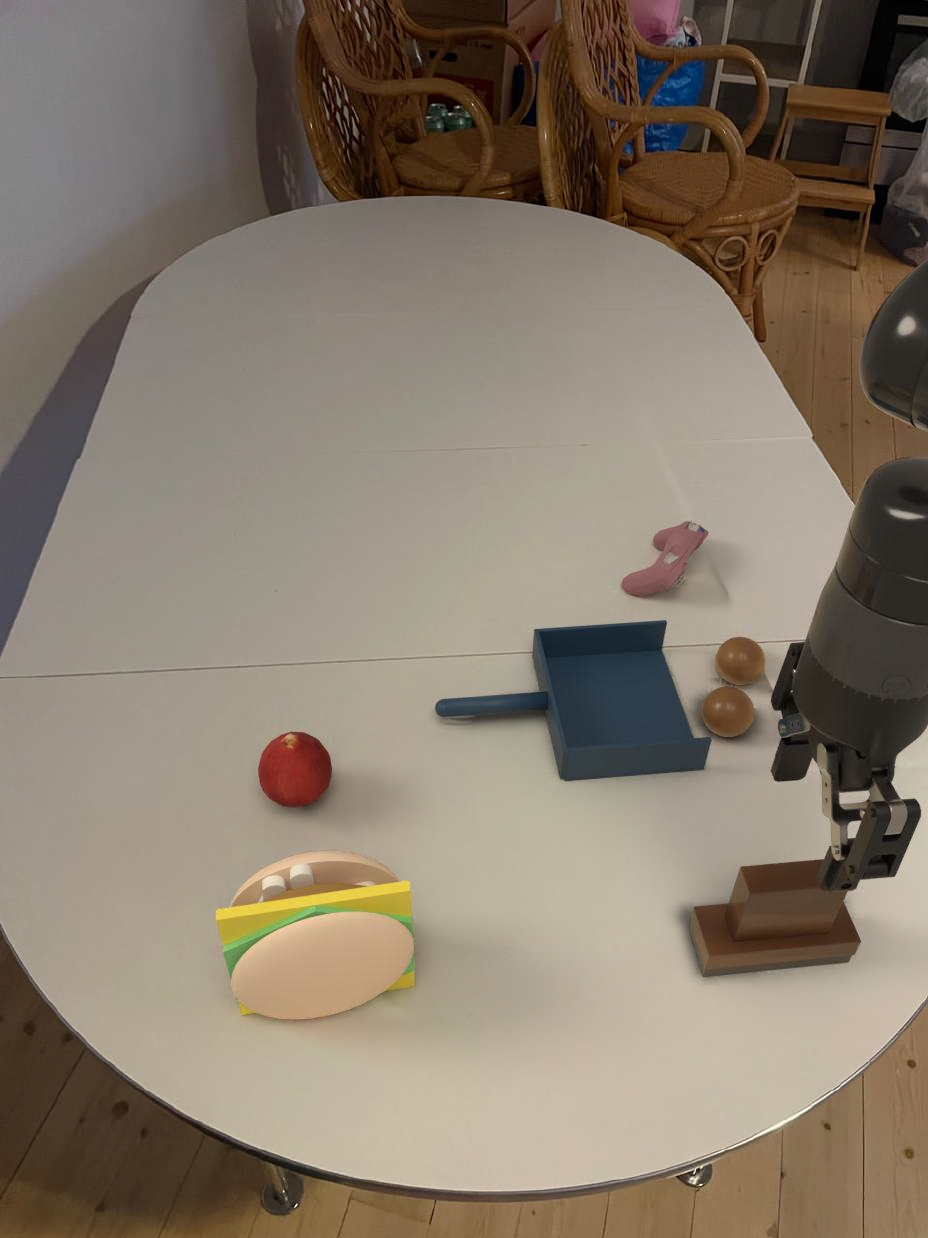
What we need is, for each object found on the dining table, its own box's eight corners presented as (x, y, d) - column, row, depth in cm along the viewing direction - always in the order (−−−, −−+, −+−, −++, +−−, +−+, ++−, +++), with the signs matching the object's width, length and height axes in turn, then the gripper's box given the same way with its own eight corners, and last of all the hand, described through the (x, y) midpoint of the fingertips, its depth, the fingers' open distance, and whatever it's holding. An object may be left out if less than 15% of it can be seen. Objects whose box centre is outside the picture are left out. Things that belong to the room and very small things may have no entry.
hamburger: (402, 912, 78) (397, 813, 70) (419, 1016, 72) (415, 921, 64) (239, 937, 76) (215, 839, 68) (242, 1046, 70) (216, 953, 62)
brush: (687, 928, 77) (707, 857, 71) (830, 915, 78) (862, 843, 72) (702, 978, 74) (724, 908, 68) (850, 964, 75) (885, 893, 69)
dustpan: (660, 649, 99) (666, 619, 97) (704, 770, 88) (711, 740, 86) (428, 665, 97) (427, 635, 95) (443, 791, 86) (443, 761, 84)
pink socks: (650, 617, 105) (689, 580, 99) (614, 588, 105) (652, 549, 100) (685, 563, 111) (724, 526, 106) (652, 536, 111) (689, 497, 106)
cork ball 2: (739, 708, 94) (749, 673, 91) (755, 745, 90) (765, 711, 87) (692, 712, 93) (700, 677, 90) (705, 749, 90) (714, 714, 87)
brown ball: (751, 659, 98) (760, 625, 95) (766, 693, 95) (776, 658, 92) (705, 662, 98) (713, 628, 95) (719, 696, 95) (728, 662, 92)
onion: (273, 768, 88) (262, 703, 83) (341, 774, 88) (334, 709, 82) (256, 824, 84) (243, 759, 78) (327, 831, 83) (319, 766, 78)
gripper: (1012, 739, 51) (911, 921, 62) (893, 558, 62) (824, 741, 72) (865, 750, 50) (789, 932, 61) (770, 565, 61) (719, 748, 72)
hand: (808, 828), depth 67 cm, fingers open, 8 cm apart
